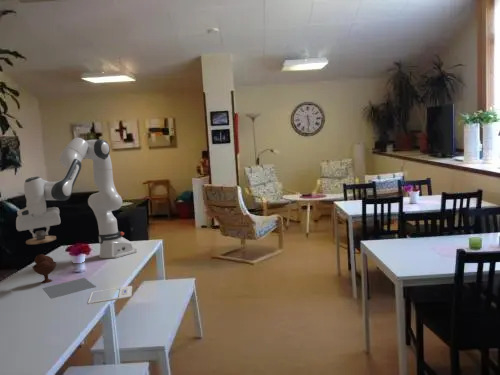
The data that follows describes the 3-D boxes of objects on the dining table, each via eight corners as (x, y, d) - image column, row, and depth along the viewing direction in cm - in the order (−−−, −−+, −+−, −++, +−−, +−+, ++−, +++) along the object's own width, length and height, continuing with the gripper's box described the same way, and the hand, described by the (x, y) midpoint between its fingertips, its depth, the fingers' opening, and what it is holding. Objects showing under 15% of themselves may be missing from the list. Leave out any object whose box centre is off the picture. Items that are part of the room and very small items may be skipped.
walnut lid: (52, 236, 230) (51, 227, 230) (59, 240, 219) (58, 230, 218) (23, 241, 222) (22, 232, 221) (28, 246, 211) (27, 235, 210)
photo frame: (131, 295, 191) (87, 302, 187) (131, 298, 191) (88, 304, 187) (132, 285, 205) (91, 291, 201) (132, 287, 205) (92, 293, 201)
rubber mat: (84, 278, 224) (84, 277, 224) (96, 287, 208) (96, 286, 208) (42, 289, 213) (42, 288, 212) (51, 299, 196) (51, 298, 196)
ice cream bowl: (49, 285, 217) (45, 256, 215) (30, 286, 219) (26, 257, 217) (63, 278, 227) (59, 250, 225) (44, 279, 229) (40, 251, 227)
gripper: (57, 205, 227) (60, 231, 229) (13, 212, 215) (17, 239, 217) (60, 206, 222) (63, 233, 224) (15, 213, 210) (19, 241, 212)
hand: (40, 236), depth 220 cm, fingers closed on walnut lid, 4 cm apart
